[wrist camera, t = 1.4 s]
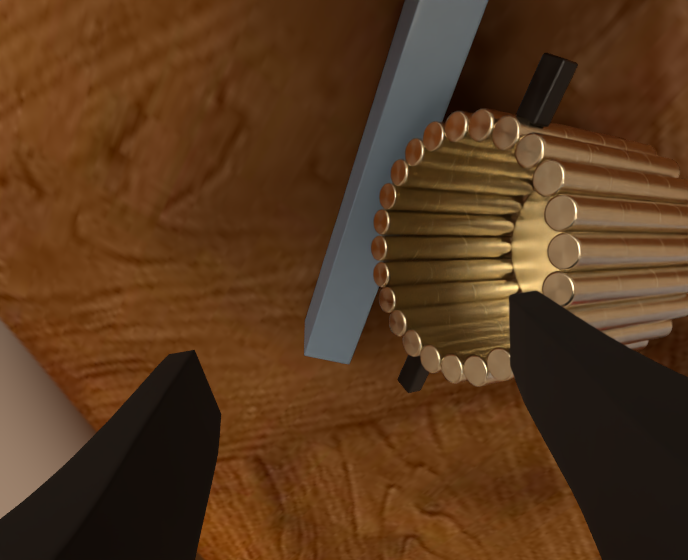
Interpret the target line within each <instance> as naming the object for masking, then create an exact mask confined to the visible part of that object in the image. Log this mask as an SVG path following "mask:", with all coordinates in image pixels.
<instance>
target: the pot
mask: <svg viewBox="0 0 688 560" xmlns="http://www.w3.org/2000/svg"><path fill="white" fill-rule="evenodd" d="M577 66H578V64H577V63H576V62H573V61H570V60H567V59H564V58H561V57H558V56H555V55H552V54H549V53H544V54H543V55H542V58H541V60H540V62H539V64H538V67H537V69H536V71H535V73H534V76H533V78H532V80H531V82H530V84H529V87H528V89H527V91H526V93H525V96H524V98H523V100H522V102H521V105H520V107H519V109H518V111H517V113H516V115H515V114H510V113H506V112H501V111H497V110H492V109H488V108H482V109H479V110H477V111H476V112H475V113H470V112H465V111H455V112H453V113H452V114H451V115H450V116H449V117H448V119H447V121H446V122H440V121H433V122H431V123H429V124H428V125H427V127H426V128H425V130H424V133H423V138H413V139H411V140H410V141H409V142H408V144H407V146H406V149H405V159H398V160H396V161H395V162H394V163H393V165H392V167H391V171H390V177H391V181H392V183H386V184H384V185H383V186H382V188H381V190H380V194H379V201H380V204H381V206H382V207H383V208H384V209H380V210H378V211H377V212H376V213H375V216H374V219H373V225H374V229H375V231H376V232H377V233H378V234H380V235H378V236H376V237H375V238H374V239H373V240H372V243H371V253H372V256H373V258H374V259H375V260H377V261H383V262H379V263H377V264H376V265H375V267H374V270H373V279H374V282H375V283H376V285H377V286H379V287H382V288H383V287H384V288H383V289H382V290H381V291H380V294H379V304H380V307H381V308H382V310H383V311H384V312H387V313H391V315H390V318H389V326H390V329H391V331H392V332H393V334H395V335H396V336H403V346H404V349H405V351H406V353H407V354H408V357H407V359H406V361H405V364H404V366H403V368H402V370H401V372H400V375H399V377H398V381H399V383H400V384H401V385H402V386H403V387H404V389H405V390H406V391H407V392H408V393H411V392H416V391H420V390H421V388H422V386H423V384H424V382H425V380H426V378H427V376H428V374H429V372H430V373H437V372H442V373H443V376H444V377H445V379H446V380H447V381H449V382H451V383H460V382H465V381H468V382H469V383H471V384H472V385H474V386H477V387H480V386H485V385H489V384H493V383H498V382H502V381H507V380H512V379H515V377H514V375H513V372H512V369H511V367H510V332H509V295H512V294H518V293H524V292H529V291H535V290H537V291H539V292H540V293H542V294H543V295H545V296H547V297H548V298H550V299H551V300H553V301H554V302H556V303H557V304H559V305H560V306H562V307H563V308H565V309H566V310H568V311H570V312H571V313H573V314H574V315H576V316H577V317H579V318H580V319H582V320H584V321H585V322H587V323H588V324H590V325H592V326H593V327H595V328H596V329H598V330H600V331H601V332H603V333H605V334H606V335H608V336H610V337H611V338H613V339H615V340H617V341H618V342H620V343H622V344H624V345H625V346H627V347H629V348H631V349H632V350H634V351H637V350H641V349H643V348H644V347H646V345H647V344H648V340H652V339H656V338H661V337H665V336H666V335H668V334H669V333H670V331H671V329H672V321H671V319H676V318H681V317H685V316H687V315H688V294H687V293H688V180H687V179H681V178H678V176H679V173H680V168H679V165H678V163H677V162H676V161H675V160H673V159H669V158H664V157H659V156H657V154H656V151H655V149H654V148H653V147H652V146H650V145H647V144H643V143H638V142H634V141H629V140H626V139H624V138H620V137H615V136H611V135H606V134H602V133H597V132H593V131H588V130H583V129H579V128H574V127H570V126H565V125H561V124H556V123H552V122H551V120H552V118H553V116H554V114H555V112H556V110H557V108H558V106H559V103H560V101H561V99H562V97H563V95H564V93H565V91H566V89H567V87H568V85H569V83H570V81H571V79H572V77H573V75H574V72H575V70H576V68H577ZM405 235H424V236H405ZM498 236H512V237H498ZM489 258H500V259H489ZM450 259H461V260H450ZM410 260H422V261H410Z"/></svg>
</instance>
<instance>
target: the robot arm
mask: <svg viewBox="0 0 688 560" xmlns="http://www.w3.org/2000/svg"><path fill="white" fill-rule="evenodd" d="M509 332H510V367H511V369H512V372H513V375H514V377H515V380H516V383H517V385H518V388H519V391H520V393H521V396H522V398H523V401H524V403H525V405H526V407H527V409H528V411H529V413H530V415H531V417H532V418H533V420H534V422H535V424H536V426H537V428H538V430H539V432H540V433H541V435H542V437H543V439H544V441H545V443H546V444H547V446H548V448H549V450H550V452H551V454H552V455H553V457H554V459H555V461H556V463H557V464H558V466H559V468H560V470H561V472H562V474H563V475H564V477H565V479H566V481H567V483H568V485H569V486H570V488H571V490H572V492H573V494H574V496H575V498H576V500H577V502H578V504H579V506H580V508H581V510H582V513H583V515H584V517H585V520H586V522H587V524H588V527H589V529H590V532H591V534H592V536H593V539H594V541H595V543H596V546H597V548H598V550H599V553H600V555H601V558H602V560H688V377H686V376H684V375H682V374H679V373H677V372H675V371H673V370H671V369H669V368H667V367H665V366H663V365H661V364H659V363H657V362H655V361H653V360H651V359H649V358H647V357H646V356H644V355H642V354H640V353H638V352H636V351H634V350H632V349H631V348H629V347H627V346H625V345H624V344H622V343H620V342H618V341H617V340H615V339H613V338H611V337H610V336H608V335H606V334H605V333H603V332H601V331H600V330H598V329H596V328H595V327H593V326H592V325H590V324H588V323H587V322H585V321H584V320H582V319H580V318H579V317H577V316H576V315H574V314H573V313H571V312H570V311H568V310H566V309H565V308H563V307H562V306H560V305H559V304H557V303H556V302H554V301H553V300H551V299H550V298H548V297H547V296H545V295H543V294H542V293H540V292H539V291H537V290H535V291H529V292H524V293H518V294H512V295H509ZM220 423H221V413H220V410H219V408H218V405H217V403H216V401H215V398H214V396H213V393H212V391H211V388H210V386H209V384H208V381H207V379H206V376H205V374H204V372H203V369H202V367H201V364H200V362H199V359H198V357H197V355H196V352H195V350H191V351H186V352H180V353H174V354H169V355H168V356H167V357H166V358H165V359H164V360H163V361H162V362H161V363H160V364H159V365H158V366H157V367H156V368H155V370H154V371H153V372H152V373H151V374H150V375H149V376H148V377H147V378H146V380H145V381H144V382H143V383H142V384H141V385H140V386H139V387H138V389H137V390H136V391H135V392H134V393H133V394H132V395H131V396H130V398H129V399H128V400H127V401H126V402H125V403H124V404H123V405H122V406H121V407H120V409H119V410H118V411H117V412H116V413H115V414H114V415H113V416H112V417H111V418H110V420H109V421H108V422H107V423H106V424H105V425H104V426H103V427H102V428H101V429H100V430H99V431H98V432H97V433H96V434H95V435H94V436H93V437H92V438H91V439H90V440H89V441H88V442H87V443H86V444H85V445H84V446H83V447H82V448H81V449H80V450H79V451H78V452H77V453H76V454H75V455H74V457H72V458H71V459H70V460H69V461H68V462H67V463H66V464H65V465H64V466H63V467H62V468H61V469H59V470H58V471H57V472H56V473H55V474H54V475H53V476H52V477H51V478H49V479H48V480H47V481H46V482H45V483H44V484H43V485H41V486H40V487H39V488H38V489H37V490H36V491H35V492H33V493H32V494H31V495H30V496H29V497H27V498H26V499H25V500H24V501H23V502H22V503H20V504H19V505H18V506H16V507H15V508H14V509H13V510H11V511H10V512H9V513H7V514H6V515H5V516H4V517H2V518H1V519H0V560H195V557H196V552H197V547H198V543H199V538H200V534H201V529H202V525H203V520H204V516H205V512H206V507H207V503H208V498H209V494H210V489H211V485H212V480H213V475H214V471H215V466H216V461H217V456H218V448H219V437H220Z"/></svg>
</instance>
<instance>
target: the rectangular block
mask: <svg viewBox="0 0 688 560" xmlns="http://www.w3.org/2000/svg"><path fill="white" fill-rule="evenodd" d="M487 3H488V0H405V2H404V5H403V8H402V11H401V15H400V18H399V21H398V24H397V27H396V31H395V34H394V37H393V40H392V43H391V47H390V50H389V53H388V56H387V60H386V63H385V66H384V69H383V72H382V76H381V79H380V82H379V85H378V88H377V92H376V95H375V98H374V101H373V104H372V108H371V111H370V114H369V117H368V120H367V124H366V127H365V130H364V133H363V137H362V140H361V143H360V146H359V149H358V153H357V156H356V159H355V162H354V165H353V169H352V172H351V175H350V178H349V181H348V185H347V188H346V191H345V194H344V198H343V201H342V204H341V207H340V210H339V214H338V217H337V220H336V223H335V226H334V230H333V233H332V236H331V239H330V242H329V246H328V249H327V252H326V255H325V258H324V262H323V265H322V268H321V271H320V275H319V278H318V281H317V284H316V287H315V291H314V294H313V297H312V300H311V303H310V307H309V310H308V313H307V316H306V319H305V339H304V355H305V356H309V357H314V358H319V359H324V360H329V361H334V362H339V363H344V364H350V362H351V359H352V356H353V354H354V351H355V349H356V346H357V343H358V341H359V338H360V335H361V333H362V330H363V328H364V325H365V322H366V320H367V317H368V314H369V312H370V309H371V307H372V304H373V301H374V299H375V296H376V294H377V291H378V288H379V286H377V285H376V283H375V282H374V279H373V270H374V267H375V265H376V264H377V263H379V262H383V261H377V260H375V259H374V258H373V256H372V253H371V243H372V240H373V239H374V238H375V237H376V236H378V235H380V234H378V233H377V232H376V231H375V229H374V225H373V219H374V216H375V213H376V212H377V211H378V210H380V209H384V208H383V207H382V206H381V204H380V201H379V194H380V190H381V188H382V186H383V185H384V184H386V183H392V181H391V177H390V171H391V167H392V165H393V163H394V162H395V161H396V160H398V159H405V149H406V146H407V144H408V142H409V141H410V140H411V139H413V138H423V133H424V130H425V128H426V127H427V125H428V124H429V123H431V122H433V121H440V122H442V121H443V118H444V116H445V113H446V110H447V108H448V105H449V102H450V100H451V97H452V95H453V92H454V89H455V87H456V84H457V81H458V79H459V76H460V74H461V71H462V68H463V66H464V63H465V61H466V58H467V55H468V53H469V50H470V47H471V45H472V42H473V40H474V37H475V34H476V32H477V29H478V26H479V24H480V21H481V19H482V16H483V13H484V11H485V8H486V6H487Z"/></svg>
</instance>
